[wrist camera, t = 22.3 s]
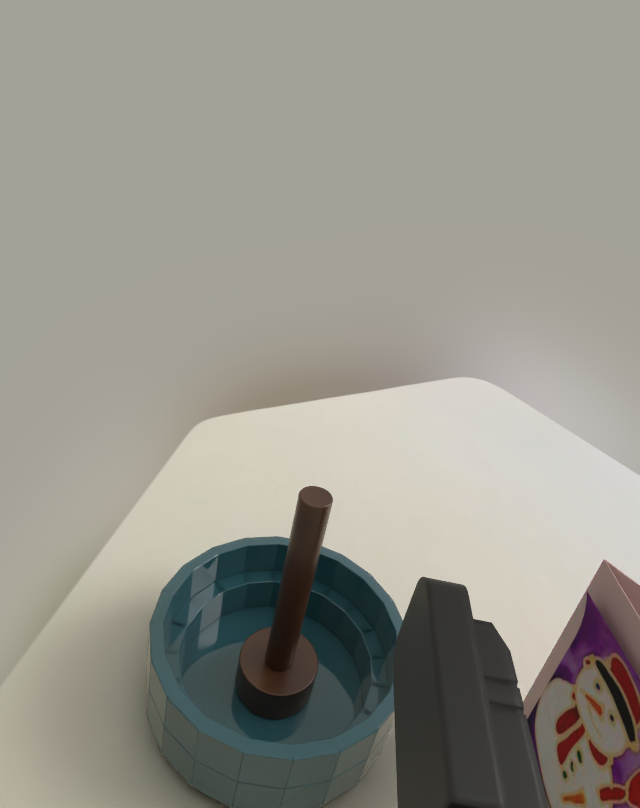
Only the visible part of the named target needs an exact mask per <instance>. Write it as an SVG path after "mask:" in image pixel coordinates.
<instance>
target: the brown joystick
mask: <svg viewBox="0 0 640 808" xmlns="http://www.w3.org/2000/svg"><path fill="white" fill-rule="evenodd" d="M332 502H333V498H332V496H331V494H330V493H329V492H328V491H327V490H325V489H323V488H321V487H316V486H309V487H305V488H303V489H302V490H301V491H300V493H299V496H298V501H297V506H296V511H295V515H294V520H293V525H292V530H291V535H290V539H289V544H288V549H287V554H286V559H285V563H284V568H283V573H282V578H281V583H280V587H279V592H278V597H277V602H276V607H275V611H274V616H273V621H272V626H271V627H266V628H263V629H260V630H258V631H256V632H254V633H253V634H252V635H250V636H249V637H248V638H247V639H246V641H245V642H244V644H243V645H242V648H241V650H240V655H239V660H238V666H237V672H236V678H235V686H236V691H237V694H238V696H239V698H240V700H241V702H242V703H243V704H244V706H245V707H246V708H247V709H249V710H250V711H251V712H252V713H254V714H256V715H258V716H260V717H263V718H266V719H275V720H277V719H285V718H288V717H291V716H293V715H295V714H297V713H298V712H299V711H301V710H302V709H303V708H304V707H305V705H306V704H307V702H308V701H309V699H310V696H311V693H312V689H313V686H314V682H315V678H316V675H317V671H318V658H317V654H316V651H315V649H314V647H313V646H312V644H311V643H310V642H309V641H308V639H307V638H305V637H304V636H303V635H302V634H300V633H301V629H302V625H303V620H304V616H305V612H306V608H307V604H308V600H309V596H310V592H311V588H312V584H313V580H314V576H315V572H316V568H317V563H318V559H319V555H320V551H321V547H322V543H323V539H324V535H325V531H326V527H327V523H328V519H329V515H330V510H331V506H332Z"/></svg>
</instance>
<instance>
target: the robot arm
mask: <svg viewBox="0 0 640 808" xmlns="http://www.w3.org/2000/svg"><path fill="white" fill-rule="evenodd" d="M517 683H518V681H517V677H516V673H515V669H514V665H513V661H512V657H511V653H510V650H509V649H508V647H507V646H506V644H505V642H504V641H503V639H502V638H501V636H500V635H499V633H498V632H497V630H496V629H495V627H494V625H493V624H492V623H490V622H485V621H480V620H475V619H473V616H472V611H471V606H470V600H469V595H468V591H467V589H466V587H465V586H464V585H461V584H456V583H451V582H446V581H441V580H436V579H431V578H426V577H421V578H420V579H419V581H418V583H417V585H416V588H415V591H414V593H413V596H412V599H411V601H410V604H409V607H408V609H407V612H406V615H405V617H404V620H403V623H402V625H401V628H400V631H399V633H398V637H397V640H396V645H395V651H394V659H393V686H394V713H395V740H396V767H397V794H398V808H549V807H548V803H547V799H546V795H545V791H544V786H543V782H542V778H541V774H540V770H539V766H538V762H537V758H536V754H535V750H534V746H533V742H532V738H531V734H530V730H529V726H528V722H527V717H526V715H525V714H524V712H523V711H524V705H523V701H522V697H521V693H520V689H519V688H517Z"/></svg>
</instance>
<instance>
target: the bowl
mask: <svg viewBox="0 0 640 808" xmlns="http://www.w3.org/2000/svg"><path fill="white" fill-rule="evenodd" d="M288 544H289V538H284V537H278V536H276V537H255V538H243V539H239V540H236V541H233V542H229V543H226V544H222V545H219V546H216V547H213V548H211V549H209V550H207V551H206V552H204V553H203V554H201V555H199V556H198V557H196V558H194V559H193V560H191V561H190V562H188V563H186V564H185V565H183V566H182V567H181V569H180V570H179V571H178V572H177V573H176V574H175V576H174V577H173V578H172V579H171V580H170V581H169V583H168V584H167V585H166V586H165V587H164V588H163V590H162V592H161V594H160V597H159V599H158V602H157V605H156V607H155V610H154V613H153V615H152V618H151V621H150V626H149V642H148V659H147V675H146V693H147V717H148V720H149V723H150V725H151V728H152V730H153V733H154V735H155V738H156V740H157V743H158V745H159V748H160V751H161V753H162V755H163V756H164V757H165V758H166V759H167V760H168V762H169V763H170V764H171V765H172V766H173V767H174V768H175V769H176V770H177V772H178V773H179V774H180V775H181V776H182V777H183V778H184V779H185V781H186V782H187V783H188V784H189V785H190V786H192V787H193V788H194V789H196V790H198V791H200V792H202V793H204V794H206V795H207V796H209V797H211V798H213V799H215V800H217V801H219V802H220V803H222V804H224V805H226V806H228V807H230V808H316V807H321V805H322V806H323V805H325V804H326V803H328V802H329V801H331V800H332V799H334V798H336V797H337V796H339V795H340V794H342V793H344V792H345V791H347V790H348V789H350V788H351V787H353V786H355V785H356V784H357V783H358V782H359V781H360V780H361V778H362V777H363V776H364V774H365V773H366V772H367V770H368V769H369V768H370V766H371V765H372V764H373V762H374V761H375V759H376V758H377V757H378V755H379V754H380V752H381V750H382V748H383V745H384V743H385V740H386V738H387V736H388V733H389V731H390V728H391V725H392V723H393V721H394V718H395V713H394V686H393V659H394V651H395V645H396V640H397V637H398V633H399V631H400V628H401V625H402V623H403V620H402V618H401V616H400V614H399V612H398V610H397V607H396V605H395V603H394V601H393V600H392V598H391V597H390V596H389V595H388V594H387V593H386V591H385V590H384V589H383V588H382V587H381V586H380V585H379V583H378V582H377V581H376V580H375V579H374V578H373V576H372V575H370V574H369V573H368V572H366V571H365V570H364V569H362V568H361V567H359V566H358V565H357V564H355V563H354V562H352V561H351V560H349V559H348V558H347V557H345V556H343V555H342V554H339V553H337V552H335V551H332V550H330V549H327V548H325V547H321V551H320V555H319V559H318V563H317V568H316V572H315V576H314V580H313V584H312V588H311V592H310V596H309V600H308V604H307V608H306V612H305V616H304V620H303V625H302V629H301V633H300V634H302V635H303V636H304V637H305V638H307V639H308V641H309V642H310V643H311V644H312V646H313V647H314V649H315V651H316V654H317V658H318V671H317V675H316V678H315V682H314V686H313V689H312V693H311V696H310V699H309V701H308V702H307V704H306V705H305V707H304V708H303V709H302V710H301V711H299V712H298V713H297V714H295V715H293V716H291V717H288V718H285V719H277V720H275V719H266V718H263V717H260V716H258V715H256V714H254V713H252V712H251V711H250V710H249V709H247V708H246V707H245V706H244V704H243V703H242V702H241V700H240V698H239V696H238V694H237V691H236V686H235V678H236V672H237V666H238V660H239V655H240V650H241V648H242V645H243V644H244V642H245V641H246V639H247V638H248V637H249V636H250V635H252V634H253V633H254V632H256V631H258V630H260V629H263V628H266V627H271V626H272V621H273V616H274V611H275V607H276V602H277V597H278V592H279V587H280V583H281V578H282V573H283V568H284V563H285V559H286V554H287V549H288Z"/></svg>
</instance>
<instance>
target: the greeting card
mask: <svg viewBox="0 0 640 808" xmlns="http://www.w3.org/2000/svg"><path fill="white" fill-rule="evenodd" d="M523 705H524V711H523V712H524V714H525V715H526V717H527V722H528V726H529V730H530V734H531V738H532V742H533V746H534V750H535V754H536V758H537V762H538V766H539V770H540V774H541V778H542V782H543V786H544V791H545V795H546V799H547V803H548V807H549V808H640V585H638V584H637V583H636V582H634V581H633V580H632V579H630V578H629V577H628V576H626V575H625V574H624V573H622V572H621V571H620V570H618V569H617V568H616V567H614V566H613V565H612V564H610V563H609V562H608V561H606V560H605V559H604V560H603V562H602V564H601V565H600V567H599V569H598V571H597V573H596V574H595V576H594V578H593V580H592V581H591V583H590V585H589V587H588V588H587V590H586V592H585V594H584V595H583V597H582V599H581V601H580V603H579V604H578V606H577V608H576V610H575V611H574V613H573V615H572V617H571V618H570V620H569V622H568V624H567V626H566V627H565V629H564V631H563V633H562V634H561V636H560V638H559V640H558V641H557V643H556V645H555V647H554V648H553V650H552V652H551V654H550V656H549V657H548V659H547V661H546V663H545V664H544V666H543V668H542V670H541V671H540V673H539V675H538V677H537V678H536V680H535V682H534V684H533V686H532V687H531V689H530V691H529V693H528V694H527V696H526V698H525V700H524V701H523Z"/></svg>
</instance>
